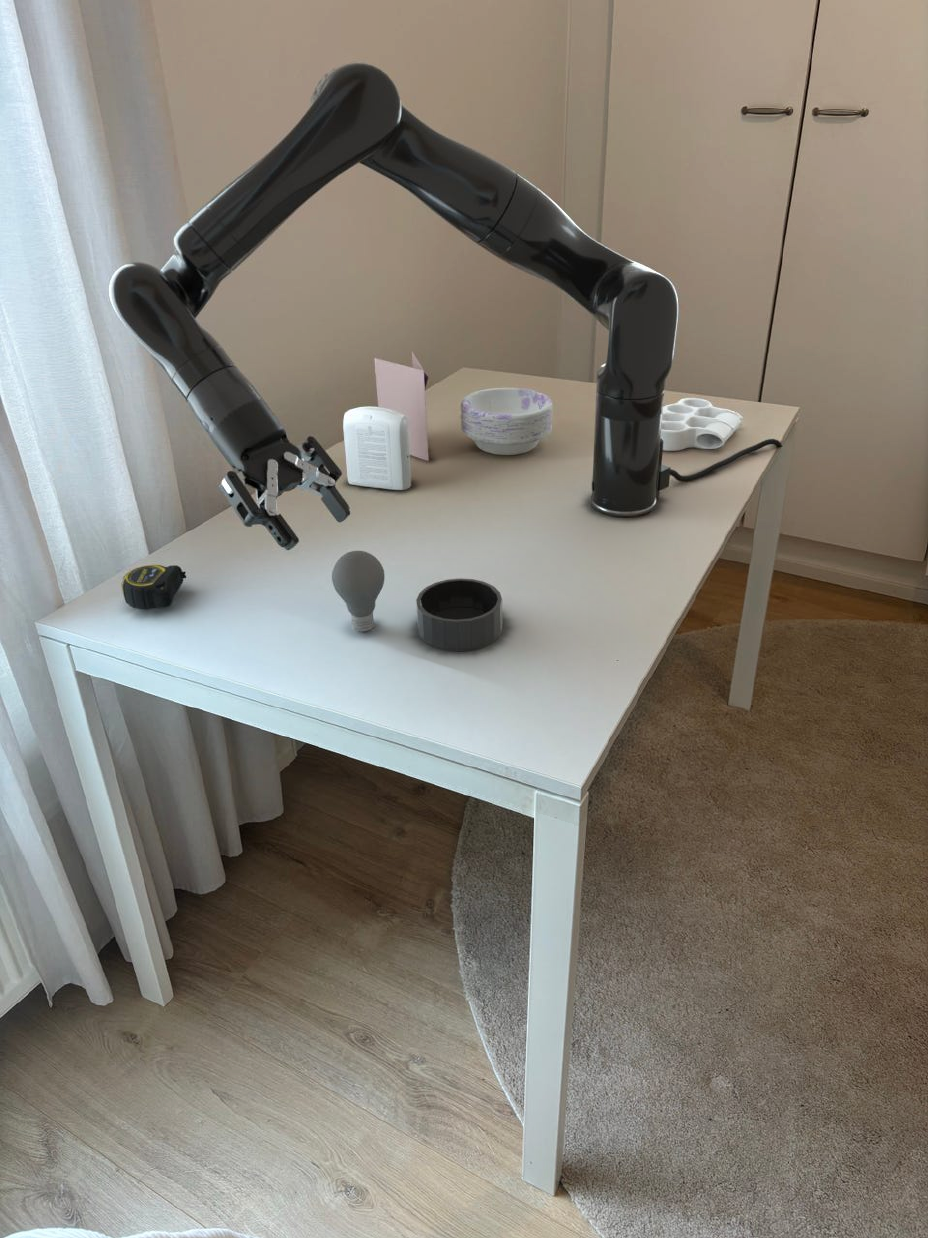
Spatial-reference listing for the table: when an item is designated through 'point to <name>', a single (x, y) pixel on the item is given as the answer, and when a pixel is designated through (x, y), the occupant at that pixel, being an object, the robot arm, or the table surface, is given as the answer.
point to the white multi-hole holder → (697, 425)
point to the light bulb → (359, 586)
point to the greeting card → (405, 399)
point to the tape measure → (152, 586)
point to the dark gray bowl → (459, 614)
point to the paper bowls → (506, 419)
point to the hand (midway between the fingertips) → (320, 531)
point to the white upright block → (377, 448)
